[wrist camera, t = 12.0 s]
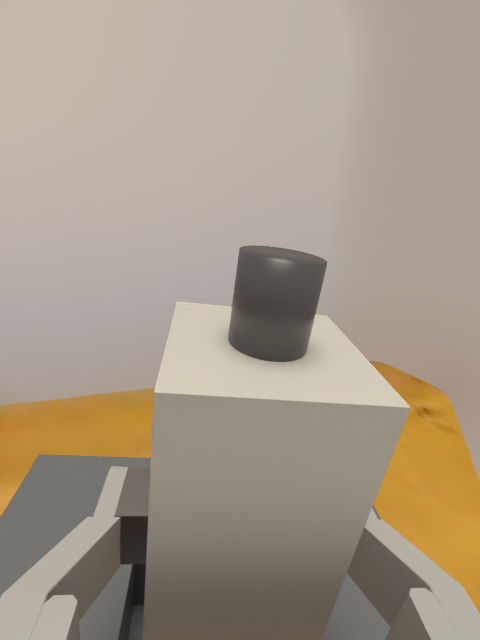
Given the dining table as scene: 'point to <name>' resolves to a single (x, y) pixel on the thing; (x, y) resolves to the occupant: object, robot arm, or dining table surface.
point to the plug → (261, 459)
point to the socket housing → (129, 581)
